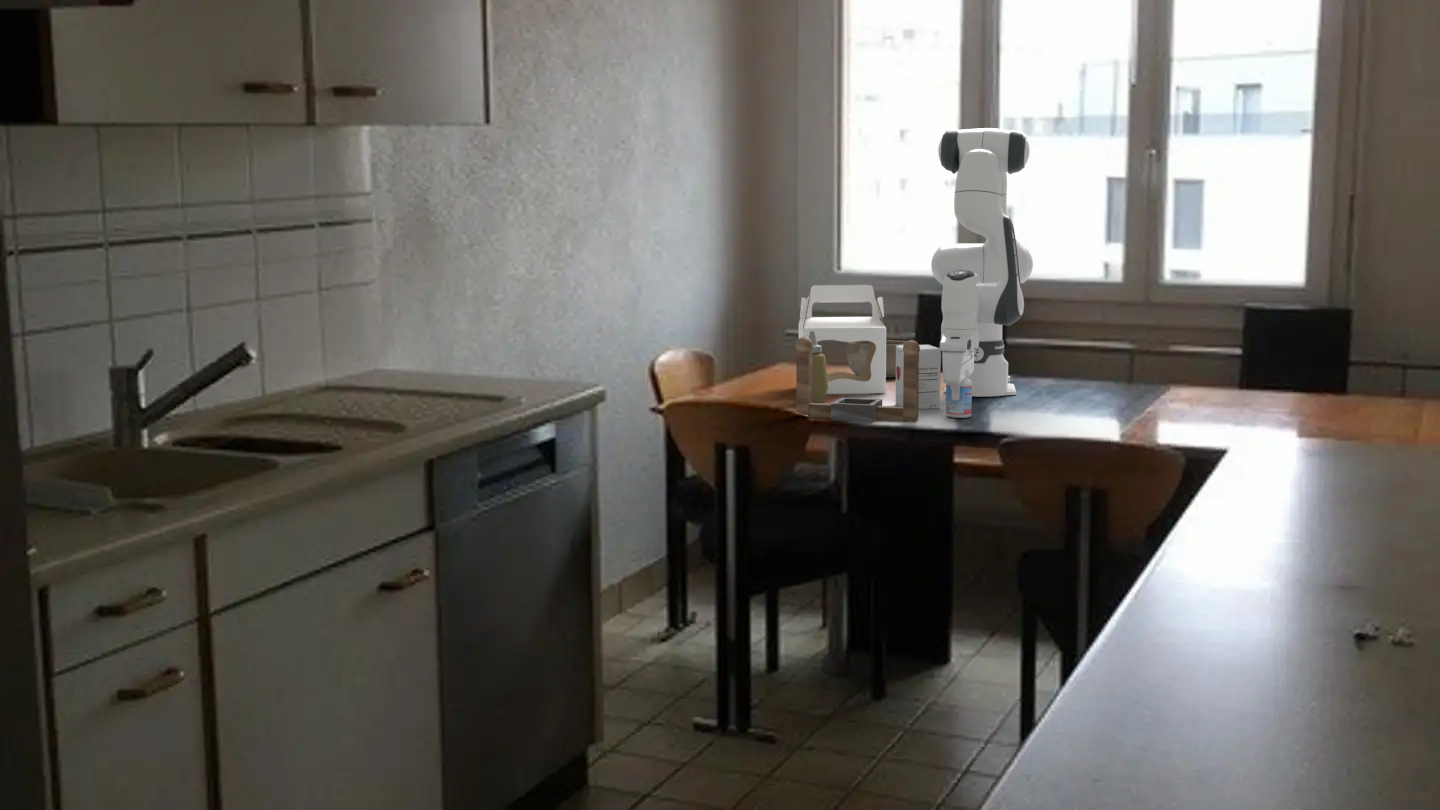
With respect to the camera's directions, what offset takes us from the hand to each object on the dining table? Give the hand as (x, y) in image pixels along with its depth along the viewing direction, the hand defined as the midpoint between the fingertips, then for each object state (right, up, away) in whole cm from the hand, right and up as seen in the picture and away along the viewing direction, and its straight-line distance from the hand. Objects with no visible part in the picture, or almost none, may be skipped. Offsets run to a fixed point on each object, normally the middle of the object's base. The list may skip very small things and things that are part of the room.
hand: (958, 397), depth 404 cm
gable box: (-25, +2, +46) cm, 52 cm away
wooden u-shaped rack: (-24, -5, 0) cm, 25 cm away
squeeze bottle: (-33, -1, +26) cm, 42 cm away
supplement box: (-8, -2, +18) cm, 19 cm away
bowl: (-13, +6, +72) cm, 74 cm away
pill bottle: (0, -5, +1) cm, 5 cm away
